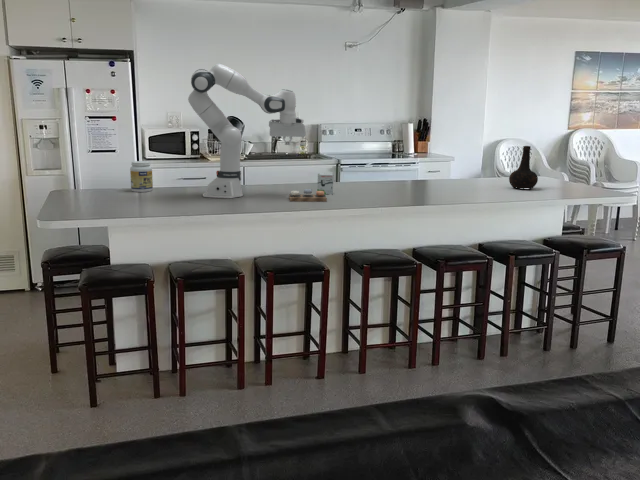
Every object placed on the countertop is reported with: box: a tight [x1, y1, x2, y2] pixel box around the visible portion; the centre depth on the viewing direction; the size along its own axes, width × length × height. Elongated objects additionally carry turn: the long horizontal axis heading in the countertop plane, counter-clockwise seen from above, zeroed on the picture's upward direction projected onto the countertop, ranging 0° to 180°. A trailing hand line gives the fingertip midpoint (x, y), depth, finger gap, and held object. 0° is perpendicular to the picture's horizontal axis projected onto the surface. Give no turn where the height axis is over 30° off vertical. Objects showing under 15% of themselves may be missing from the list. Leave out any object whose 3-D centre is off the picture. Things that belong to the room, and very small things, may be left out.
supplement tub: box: [129, 160, 154, 193], centre depth 350 cm, size 12×12×17 cm
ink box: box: [316, 172, 334, 195], centre depth 355 cm, size 9×5×12 cm, turn 105°
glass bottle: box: [508, 145, 539, 189], centre depth 391 cm, size 18×18×28 cm
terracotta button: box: [315, 190, 325, 196], centre depth 333 cm, size 4×4×2 cm
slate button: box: [303, 188, 313, 195], centre depth 332 cm, size 4×4×2 cm
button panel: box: [288, 193, 328, 203], centre depth 333 cm, size 20×12×2 cm, turn 95°
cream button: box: [290, 190, 300, 195], centre depth 332 cm, size 4×4×2 cm
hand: (287, 144), depth 337 cm, fingers closed
